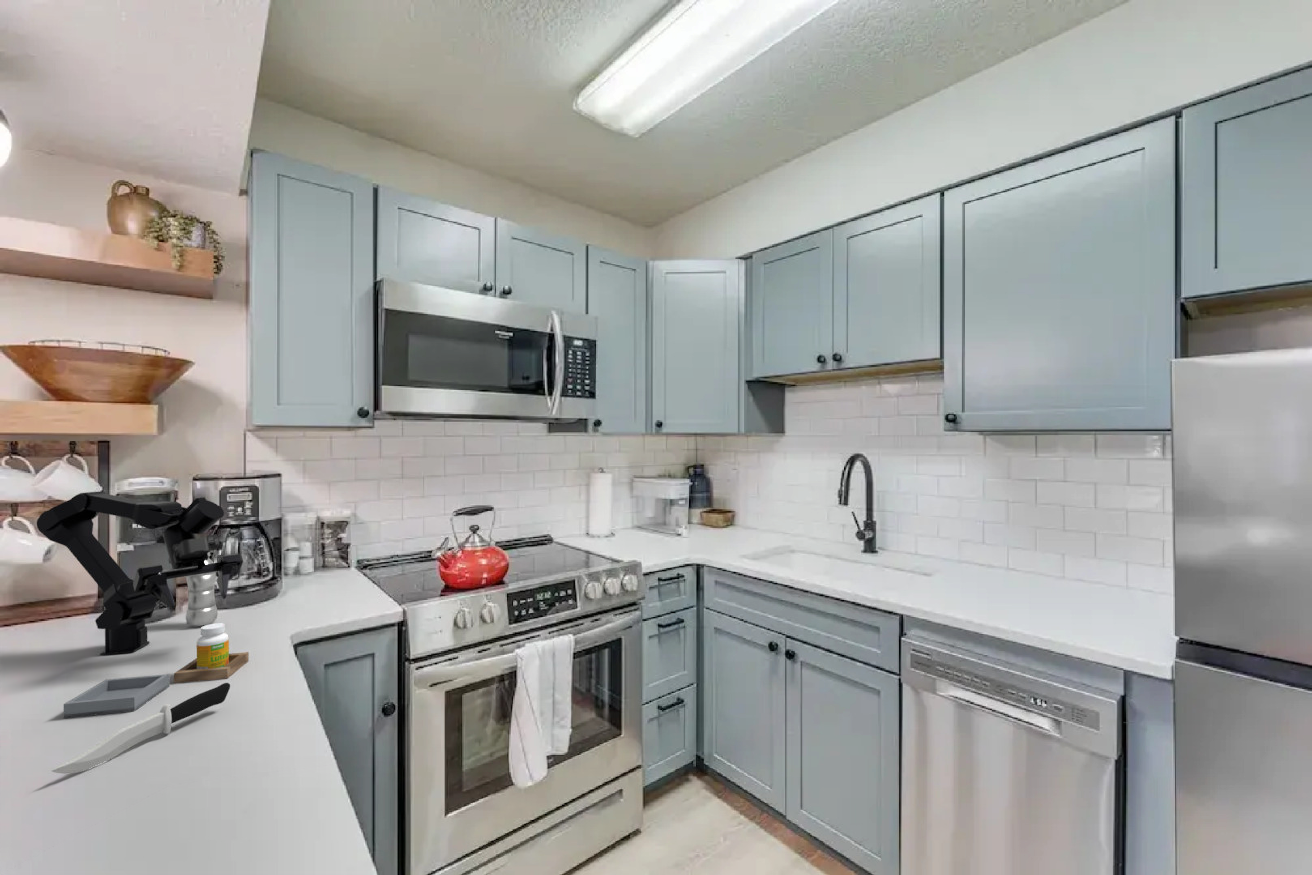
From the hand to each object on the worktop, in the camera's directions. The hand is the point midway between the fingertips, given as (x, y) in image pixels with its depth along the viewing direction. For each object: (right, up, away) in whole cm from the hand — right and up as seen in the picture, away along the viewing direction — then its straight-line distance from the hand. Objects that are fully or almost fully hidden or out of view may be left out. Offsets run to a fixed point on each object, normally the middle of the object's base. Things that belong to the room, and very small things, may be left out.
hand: (199, 602), depth 126 cm
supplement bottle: (+6, -13, -5) cm, 16 cm away
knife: (+18, -13, -33) cm, 40 cm away
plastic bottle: (-20, -14, +26) cm, 36 cm away
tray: (-1, -13, -18) cm, 22 cm away
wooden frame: (+6, -13, -5) cm, 15 cm away
